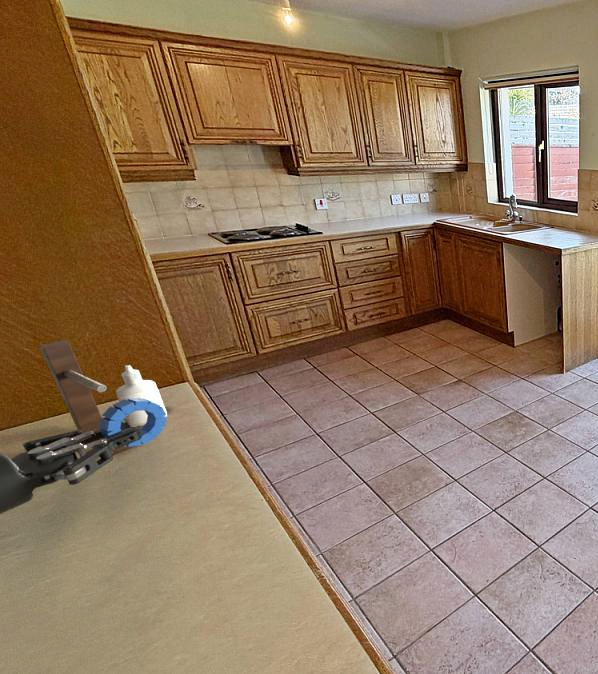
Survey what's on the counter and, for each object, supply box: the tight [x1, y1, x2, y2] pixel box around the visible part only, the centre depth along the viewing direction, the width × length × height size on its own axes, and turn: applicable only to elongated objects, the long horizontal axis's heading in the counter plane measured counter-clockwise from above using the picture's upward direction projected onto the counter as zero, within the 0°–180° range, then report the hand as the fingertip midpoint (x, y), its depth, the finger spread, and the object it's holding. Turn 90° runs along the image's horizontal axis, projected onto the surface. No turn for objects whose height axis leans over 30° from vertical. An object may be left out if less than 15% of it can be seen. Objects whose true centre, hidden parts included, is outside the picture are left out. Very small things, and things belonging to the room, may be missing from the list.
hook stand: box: [38, 339, 135, 457], centre depth 79 cm, size 16×10×20 cm, turn 66°
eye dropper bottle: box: [115, 364, 168, 428], centre depth 90 cm, size 4×6×12 cm
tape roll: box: [99, 398, 168, 448], centre depth 74 cm, size 2×7×7 cm
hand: (133, 429), depth 74 cm, fingers closed on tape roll, 2 cm apart
